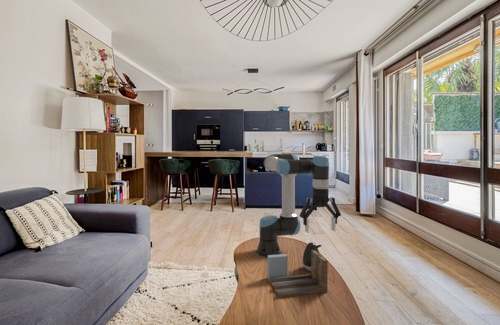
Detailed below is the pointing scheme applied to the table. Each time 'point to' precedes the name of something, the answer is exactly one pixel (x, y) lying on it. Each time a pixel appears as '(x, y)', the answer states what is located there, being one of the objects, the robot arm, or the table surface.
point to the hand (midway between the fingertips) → (320, 231)
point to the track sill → (304, 279)
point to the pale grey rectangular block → (277, 266)
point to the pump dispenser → (309, 255)
